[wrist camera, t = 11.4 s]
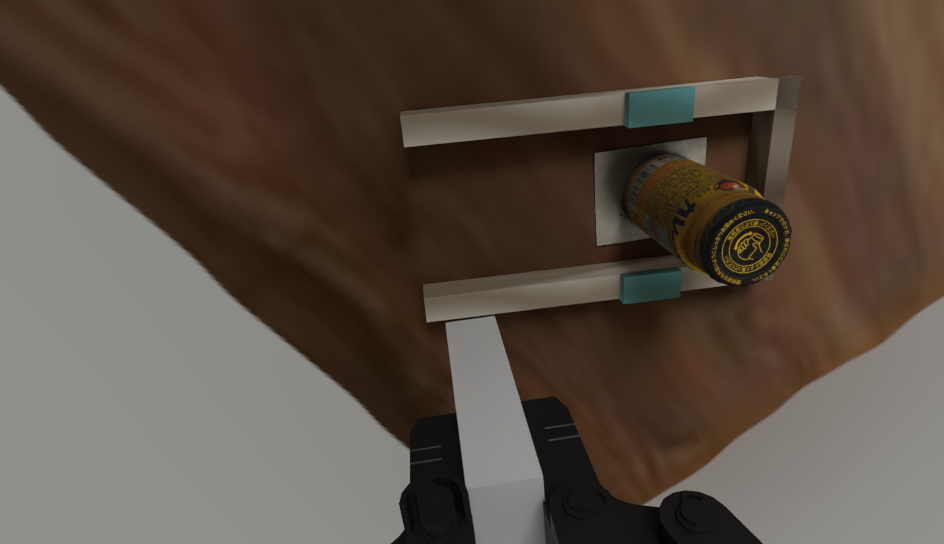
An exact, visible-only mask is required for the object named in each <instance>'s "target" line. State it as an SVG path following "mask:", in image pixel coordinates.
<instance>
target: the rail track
mask: <svg viewBox="0 0 944 544" xmlns="http://www.w3.org/2000/svg"><path fill="white" fill-rule="evenodd" d="M801 78H802V77H801V76H789V75H770V76H759V77H749V78H739V79H729V80H718V81H708V82H698V83H688V84H677V85H667V86H657V87H647V88H636V89H626V90H616V91H606V92H595V93H585V94H575V95H565V96H554V97H544V98H534V99H524V100H514V101H503V102H493V103H483V104H473V105H462V106H452V107H442V108H432V109H421V110H411V111H401V113H400V119H401V127H402V135H403V142H404V147H413V146H423V145H433V144H442V143H452V142H462V141H472V140H482V139H491V138H501V137H511V136H521V135H531V134H540V133H550V132H560V131H570V130H580V129H589V128H599V127H609V126H619V125H624V127H627V128H635V127H645V126H655V125H664V124H674V123H684V122H693V118H697V117H707V116H717V115H727V114H737V113H746V112H753V118H752V127H751V135H750V144H749V153H748V161H747V170H746V179H745V183H746V184H748V185H750V186H751V187H753V188H754V189H756V190H757V191H758V192H759V193H760V194H761V196H762V197H763V198H764V199H766V200H768V201H771V202H772V203H774V204H776V205H777V206H779V207H780V209H781V210H782V209H783V202H784V195H785V188H786V181H787V174H788V168H789V161H790V154H791V147H792V140H793V133H794V126H795V119H796V112H797V106H798V99H799V92H800V85H801ZM772 278H773V273H772V274H771V275H769V276H767V277H765V278H763V279H762V280H761V281H767V280H772ZM718 286H726V284H722V283H718V282H717V281H715V280H713V279H712V278H710V276H709V275H707V274H705V273H700V272H697V271H695V270H692V269H690V268H688V267H687V266H686V265H685V264H684V263H682V262H681V261H680V260H678V259H677V258H676V257H674V256H673V255H668V256H660V257H651V258H643V259H634V260H626V261H618V262H609V263H601V264H592V265H584V266H575V267H567V268H558V269H550V270H542V271H533V272H525V273H516V274H508V275H499V276H491V277H482V278H474V279H466V280H457V281H449V282H440V283H432V284H423V293H424V304H425V312H426V319H427V322H434V321H442V320H450V319H458V318H466V317H474V316H483V315H491V314H499V313H507V312H515V311H523V310H531V309H539V308H548V307H556V306H564V305H572V304H580V303H588V302H596V301H604V300H613V299H620V301H621V302H622V303H623V304H630V303H639V302H647V301H655V300H663V299H671V298H679V297H680V291H686V290H694V289H702V288H710V287H718Z"/></svg>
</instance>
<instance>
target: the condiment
mask: <svg viewBox="0 0 944 544" xmlns="http://www.w3.org/2000/svg"><path fill="white" fill-rule="evenodd" d="M706 145H707V137H702V138H695V139H687V140H680V141H673V142H665V143H659V144H653V145H646V146H641V147H633V148H626V149H619V150H613V151H607V152H600V153H595V167H594V168H595V211H596V235H597V246H601V245H608V244H613V243H622V242H626V241H635V240H640V239H646V238H652V239H654V240H655V241H657V242H658V243H659V244H660V245H661V246H662V247H663V248H664V249H666V250H667V251H668V252H670V253H671V254H673V256H674V257H676V258H677V259H678V260H680V261H681V262H682V263H684V264H685V265H686V266H687V267H688V268H690V269H692V270H695V271H697V272H700V273H705V274H707V275H709V276H710V278H712V279H713V280H715V281H717V282H718V283H722V284H726V285H729V286H746V285H749V284H754V283H757V282H759V281H761V280H762V279H763V278H765V277H767V276H769V275H771V274H772V273H773V272H774V271H775V270H776V269H777V268H778V266H779V265H780V264H781V263H782V261H783V260H784V258H785V256H786V254H787V252H788V249H789V245H790V239H791V232H792V230H791V227H790V224H789V220H788V218H787V217H786V215H785V214H784V212H783V211H782V210H781V209H780V207H779V206H777V205H776V204H774V203H772V202H771V201H768V200H766V199H764V198H763V197H762V196H761V194H760V193H759V192H758V191H757V190H756V189H754V188H753V187H751V186H750V185H748V184H746V183H743V182H742V181H739V180H737V179H734V178H732V177H730V176H727V175H725V174H723V173H720V172H718V171H716V170H713V169H711V168H709V167H706V166H705V159H706ZM634 163H635V165H634ZM619 214H622V217H621V216H620V215H619ZM624 216H626V217H627V218H626V219H625V218H624Z"/></svg>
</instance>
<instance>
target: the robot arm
mask: <svg viewBox="0 0 944 544" xmlns="http://www.w3.org/2000/svg"><path fill="white" fill-rule="evenodd" d="M445 324H446V332H447V340H448V348H449V356H450V365H451V373H452V381H453V389H454V397H455V405H456V413H453V414H446V415H440V416H433V417H427V418H420V419H418V420H417V422H416V424H415V426H414V427H413V429H412V431H411V433H410V484H409V485H408V486H407V487H406V488H405V490H404V491H403V492H402V495H401V499H400V502H399V505H400V510H401V515H402V519H403V524H404V528H405V530H404V531H403V533H402V534H401V535H400V536H399V537H398V538H397V539H396V540H395V541H394V542H392V543H391V544H762V543H761V541H760V540H759V539H757V537H755V536H754V535H753V534H752V533H751V532H750V531H749V530H748V529H747V528H746V527H745V526H744V525H743V524H742V523H741V522H740V521H739V520H738V519H737V518H736V517H735V516H734V515H733V514H732V513H731V512H730V511H729V510H728V509H727V508H726V507H725V506H724V505H723V504H721V503H720V502H718V501H717V500H716V499H714V498H713V497H711V496H708V495H706V494H703V493H701V492H695V491H686V490H685V491H680V492H675V493H672V494H670V495H669V496H667V497H666V498H664V499H663V501H662V503H661V505H660V507H651V506H642V505H635V504H631V503H626V502H624V501H621V500H619V499H617V498H615V497H614V496H612V495H611V494H610V493H609V491H608V490H606V489H605V488H603V487H602V486H601V484H600V482H599V481H598V478H597V476H596V474H595V471H594V469H593V467H592V464H591V462H590V460H589V457H588V455H587V452H586V450H585V448H584V445H583V443H582V441H581V438H580V437H579V434H578V431H577V429H576V426H575V425H574V422H573V419H572V417H571V415H570V412H569V410H568V408H567V407H566V406H565V405H564V404H563V403H561V402H560V401H559V400H558V399H557V398H556V397H548V398H541V399H535V400H528V401H522V402H521V401H520V398H519V395H518V391H517V388H516V385H515V381H514V378H513V375H512V372H511V368H510V365H509V362H508V358H507V355H506V352H505V348H504V345H503V342H502V338H501V335H500V332H499V328H498V325H497V322H496V319H495V316H489V317H483V318H476V319H469V320H462V321H455V322H448V323H445Z"/></svg>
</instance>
